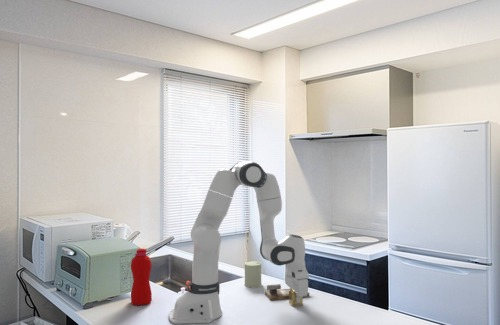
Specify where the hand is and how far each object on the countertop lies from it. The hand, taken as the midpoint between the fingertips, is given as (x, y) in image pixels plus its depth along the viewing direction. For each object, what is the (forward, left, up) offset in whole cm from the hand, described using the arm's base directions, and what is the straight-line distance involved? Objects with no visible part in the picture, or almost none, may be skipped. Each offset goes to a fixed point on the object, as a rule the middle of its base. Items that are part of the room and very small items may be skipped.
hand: (295, 299), depth 177 cm
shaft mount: (0, +12, -2) cm, 12 cm away
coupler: (0, 0, -2) cm, 2 cm away
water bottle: (-70, +20, -2) cm, 73 cm away
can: (-12, +32, -2) cm, 34 cm away
